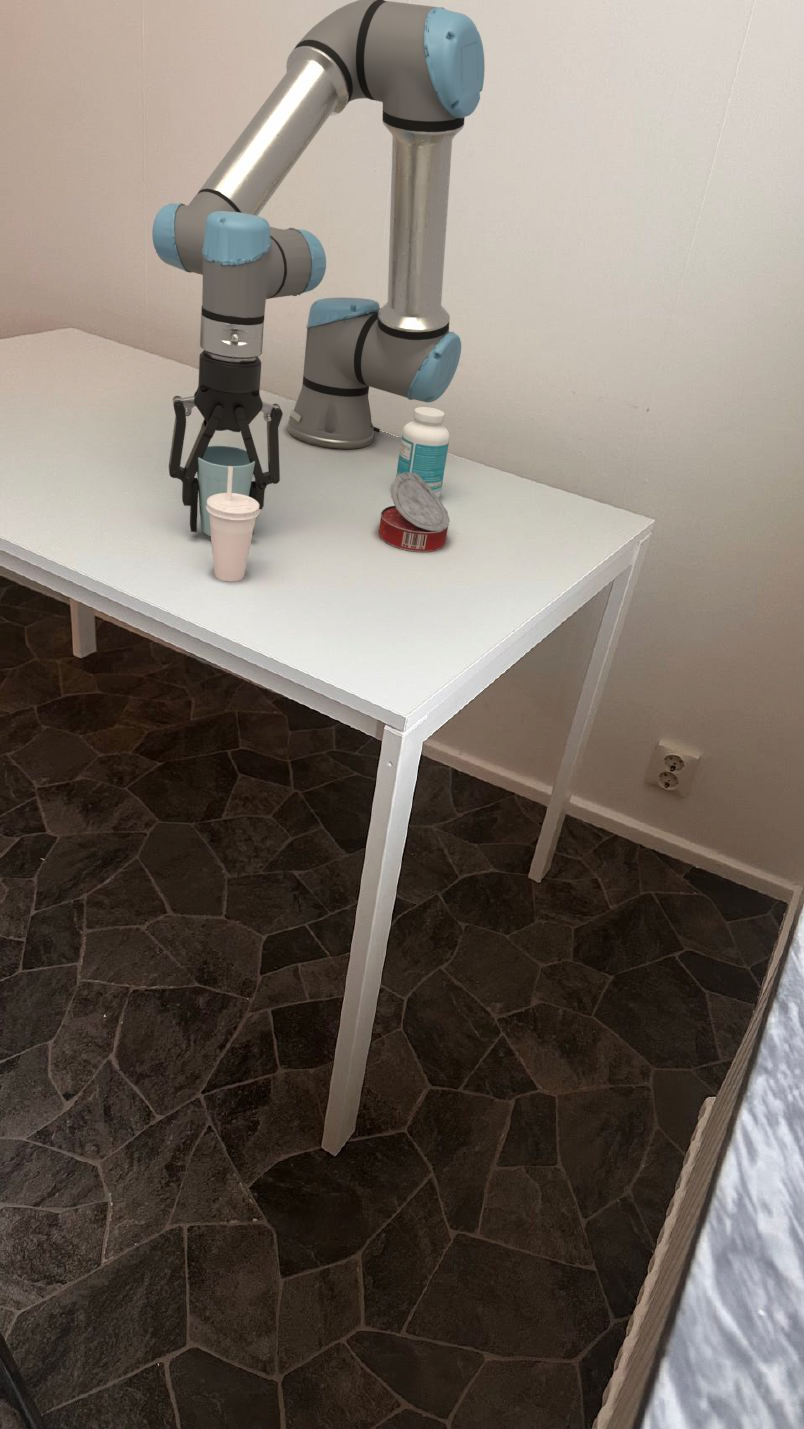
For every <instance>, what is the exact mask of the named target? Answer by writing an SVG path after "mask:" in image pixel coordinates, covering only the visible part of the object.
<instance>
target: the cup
mask: <svg viewBox="0 0 804 1429" xmlns="http://www.w3.org/2000/svg"><path fill="white" fill-rule="evenodd" d="M198 464H199V468H198V470H197V472H196V475H197V476H196V478H197V480H198V485H199V487H198V507H199V518H200V519H199V520H200V529H201V530H200V531H201V532H202V533H204V534H205V535H207V536H209V537H211V530H210V519H209V512H208V511H207V509H206V506H207V499H208V498H209V497H210V496H212V495H215V494H220V493H227V481H228V467H233V476H232V493H236V494H242V495H246V496H249V493H250V488H251V482H252V481H253V477H254V474H253V471H254V466H255V461H253V462H252V463H250V461H249V457H248V454H247V451H246V449H243V448H239V447H234V446H229V445H208V447H207V449H206V452H205V454H204V456H203V459H201V458H198Z"/></svg>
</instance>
